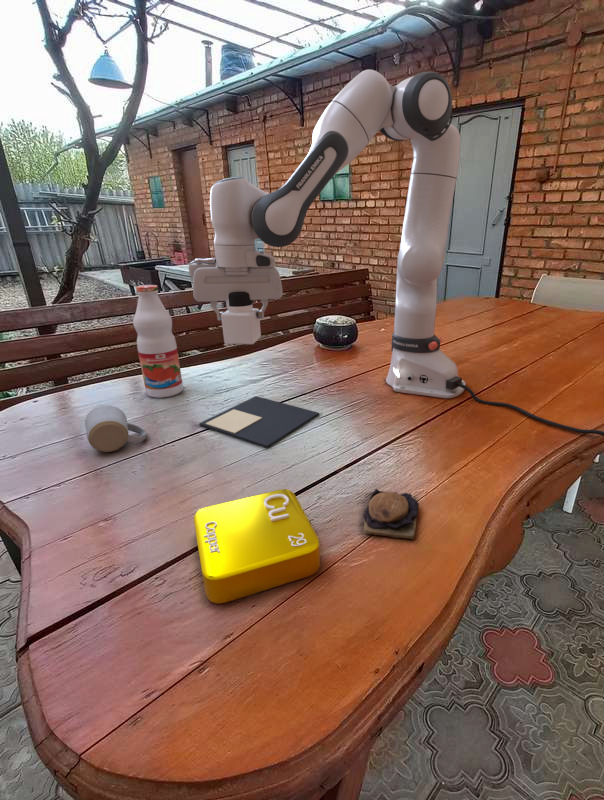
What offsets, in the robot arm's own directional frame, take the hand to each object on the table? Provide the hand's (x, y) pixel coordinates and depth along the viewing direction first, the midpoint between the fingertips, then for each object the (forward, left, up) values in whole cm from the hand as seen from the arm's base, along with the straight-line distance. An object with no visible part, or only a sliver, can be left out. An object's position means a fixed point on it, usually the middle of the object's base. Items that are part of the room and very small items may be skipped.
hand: (241, 319), depth 101 cm
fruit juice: (+23, +7, -21) cm, 33 cm away
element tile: (-39, +40, -21) cm, 60 cm away
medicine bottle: (0, 0, -5) cm, 5 cm away
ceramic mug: (+7, +31, -21) cm, 39 cm away
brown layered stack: (-51, +23, -21) cm, 60 cm away
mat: (-11, +7, -21) cm, 25 cm away
